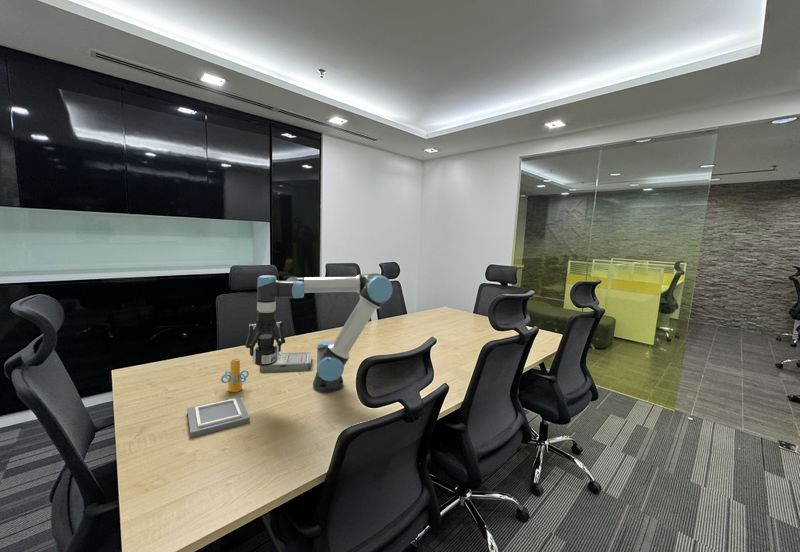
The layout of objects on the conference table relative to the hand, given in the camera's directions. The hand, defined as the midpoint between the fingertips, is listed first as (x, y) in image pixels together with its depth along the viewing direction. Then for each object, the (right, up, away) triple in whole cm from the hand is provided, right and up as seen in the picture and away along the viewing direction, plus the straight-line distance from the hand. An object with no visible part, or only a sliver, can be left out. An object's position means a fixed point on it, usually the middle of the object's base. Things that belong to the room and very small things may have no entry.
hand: (265, 360), depth 144 cm
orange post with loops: (-20, -18, +13) cm, 30 cm away
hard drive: (-7, -15, +47) cm, 49 cm away
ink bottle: (0, -1, 0) cm, 1 cm away
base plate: (-15, -20, -11) cm, 27 cm away
